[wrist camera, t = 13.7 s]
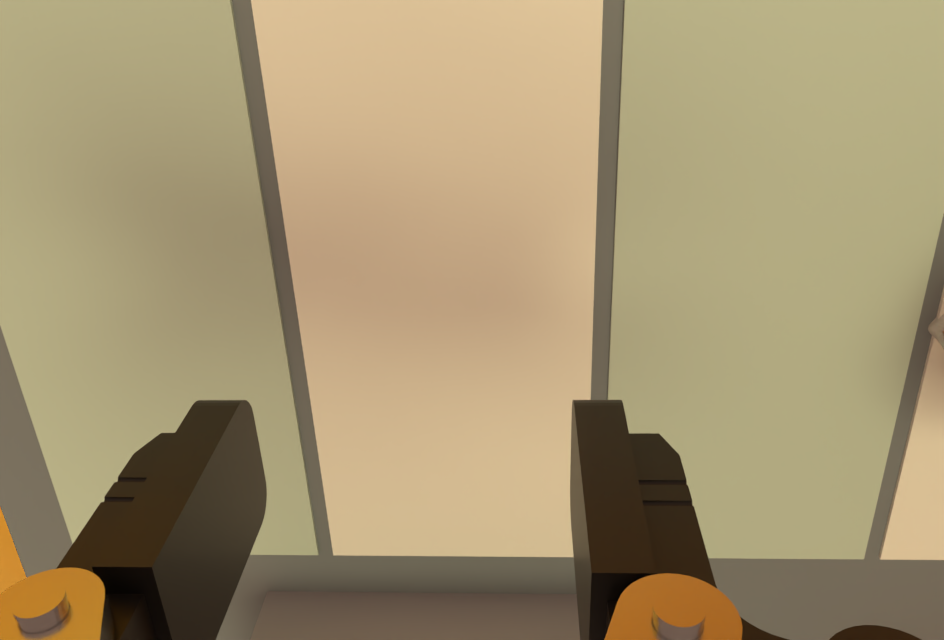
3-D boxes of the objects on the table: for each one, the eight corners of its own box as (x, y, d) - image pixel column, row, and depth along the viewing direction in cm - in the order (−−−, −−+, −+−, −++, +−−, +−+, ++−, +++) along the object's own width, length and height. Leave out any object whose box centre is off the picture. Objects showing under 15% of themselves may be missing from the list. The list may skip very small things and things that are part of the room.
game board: (1063, 844, 27) (1189, 1066, 22) (130, 818, 29) (47, 1016, 24) (1560, -214, 14) (2161, -271, 9) (-213, -132, 16) (-559, -140, 11)
